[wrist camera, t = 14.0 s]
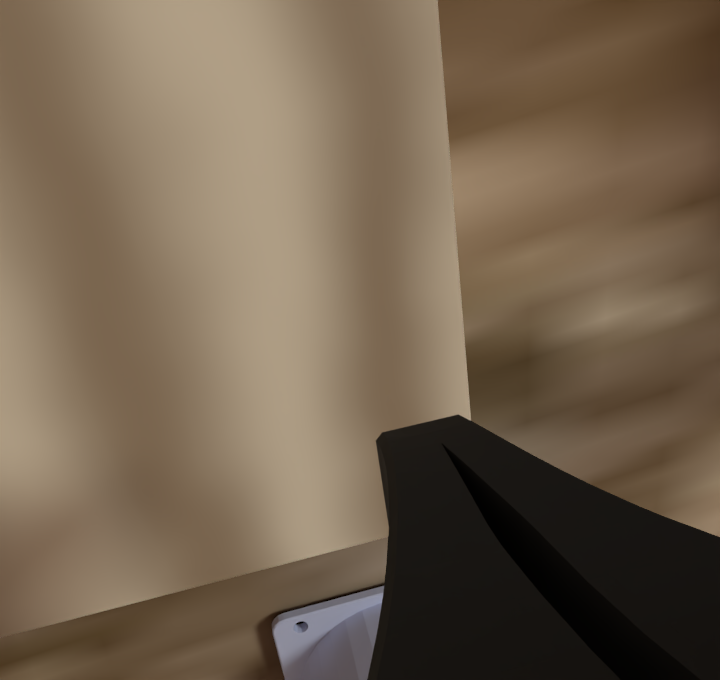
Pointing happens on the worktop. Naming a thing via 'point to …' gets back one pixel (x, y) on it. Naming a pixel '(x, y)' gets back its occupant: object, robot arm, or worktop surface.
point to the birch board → (213, 286)
